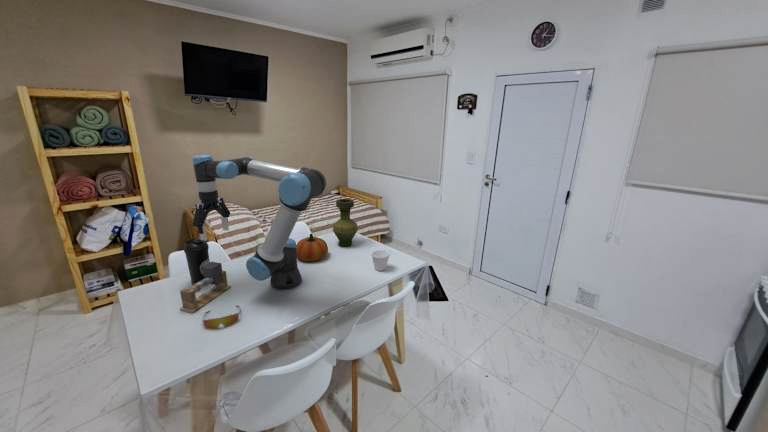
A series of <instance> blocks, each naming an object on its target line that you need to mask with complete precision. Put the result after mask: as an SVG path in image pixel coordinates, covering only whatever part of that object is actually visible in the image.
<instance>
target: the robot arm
mask: <svg viewBox="0 0 768 432" xmlns="http://www.w3.org/2000/svg"><path fill="white" fill-rule="evenodd" d="M192 166H193V169H194V170H193V171H194V176H195V180H196V186H197V191H198V197H199V200H200V203H195V206H194V207H195V210H194V215H193V216H194V217H193V221H192V227H193V228H194V227H195V228H197V233H198V234H199V239H201V240H204V241H205V242H207V241H208V238H207V237H208V236H207V232H206V227H205V226H204V224H205V223H206V219H207V217H208V214H209V213H211V212H212V211H216V212H217V213H218V214H219V215H220V216H221V217H220V220H221V226H222V230H223V231H230V229H229V224H228V223H229V219H228V218H229V217H230V215H231V212H230V210H229V208H228V206H227V205H226V203H225V202H224V198H223V197H219V193H218V190H217V189H218V186H217V181H216V179H221V180H233V179H236V177H237V176H243V175H245V176H250V177H254V178H255V177H256V178H259V179H265V180H269V181H273V182H277V183H279V184H278V187H277V192H278V197H279V198H278V201H279V203H280V204H279V207H278V209H277V212H276V213H275V216H274V219H273V220H272V223H271V225H270V228H269V230H268V232H267V234H266V237H265V239H264V242H262V243H261V244H259V245H258V246H257V248H256V250H255V253H254V254H253V255H252V256H250V257H249V258H248V259H246V261H245V266H246V270H247V271H248V274H249V275H250V277H252V278H253V279H255V280H257V281H266V280H267V279H270V280H269V281H270V287H271V288H272V289H275V290H279V291H285V290H291V289H295V288H297V287H299V286H300V285H301V284H302V282H303V277H302V274H301V272H300V269H299V268H298V258H297V250H296V248H297V247H296V245H297V242H296V240H295V239H293V238H291V237H290V236H291V234H292V232H293V230H294V227H295V225H296V223H297V221H298V219H299V217H300V215H301V213H302V212H305V211H306V210H307V209H308V207H309V205H310V203H311V201H312V199H314V198H317V197H319V196H321V195H322V194H324V191H325V190H326V188H327V179H326V177H325V175H324V173H323V172H322V171H320V170H319V169H315V168H309V167H299V168H298V167H292V166H287V165H282V164H276V163H271V162H267V161H263V160H262V161H261V160H256V159H255V158H254V157H251V156H244V157H239V158H233V159H226V160H225V159H223V160H214V159H213V156H212V155H209V154H202V155H194V156H193V157H192Z"/></svg>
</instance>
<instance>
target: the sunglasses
mask: <svg viewBox="0 0 768 432" xmlns="http://www.w3.org/2000/svg"><path fill="white" fill-rule="evenodd" d="M235 307H236V308H239V311H238V312H236V313H233V314H228V315H224V316H219V317H211V318H207V319H205V318H204V317H205V316H206V315H207V314H208V313H210V312H211V310H207V311H205V312H204V313H203V315H202V317H201V321H202V324H203V327H204V328H205V329H212V330H213V329H215V330H216V329H217V330H218V329H219V327H220V325H222V326H224V327H225V328H226V327H229V326H232V325H233V324H235V323H237V322H238V321H239V320H240V314H241V311H242V308H241V306H240V305H235Z"/></svg>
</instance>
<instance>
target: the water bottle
mask: <svg viewBox="0 0 768 432" xmlns="http://www.w3.org/2000/svg"><path fill="white" fill-rule="evenodd" d="M209 246H210V245H209V243H207V241H205V240H201V239H200V238H198V239H196V238H195V237H191V238H189V239H187V240H185V244H184V246H183V252H184V254H185V259H186V262H187V268H188V271H189V277H190V280H191V286H192V285H193V284H196V283H198V282H199V281H201V280H203V279H205V278H206V276H203V275H202V269H201V267H203V266H204V265H206V264H208V263H210V262H211V260H210V254H209Z"/></svg>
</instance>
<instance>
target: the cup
mask: <svg viewBox="0 0 768 432" xmlns="http://www.w3.org/2000/svg"><path fill="white" fill-rule="evenodd" d="M370 256H371V258H372V263H373V267H374V270H375V271H378V272H383V271H385V270H386V268H387V265H388V260H389V258H390V252H389V251H387V250H383V249H376V250H374V251H372V252H371V254H370Z"/></svg>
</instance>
